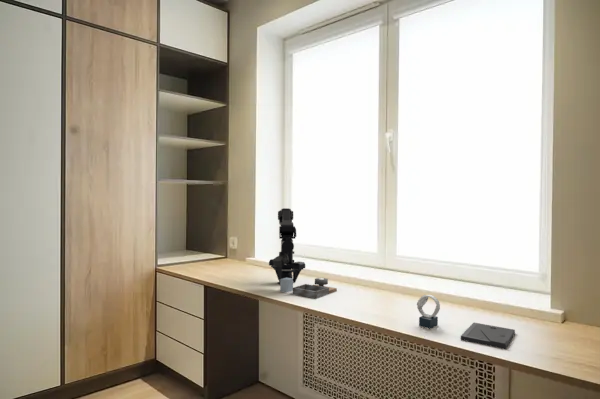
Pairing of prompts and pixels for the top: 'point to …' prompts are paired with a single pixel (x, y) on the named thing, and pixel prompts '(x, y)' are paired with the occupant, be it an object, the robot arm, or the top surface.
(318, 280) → the wheel
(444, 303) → the top surface
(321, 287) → the tray
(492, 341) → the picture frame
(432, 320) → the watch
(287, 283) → the grey-blue block
